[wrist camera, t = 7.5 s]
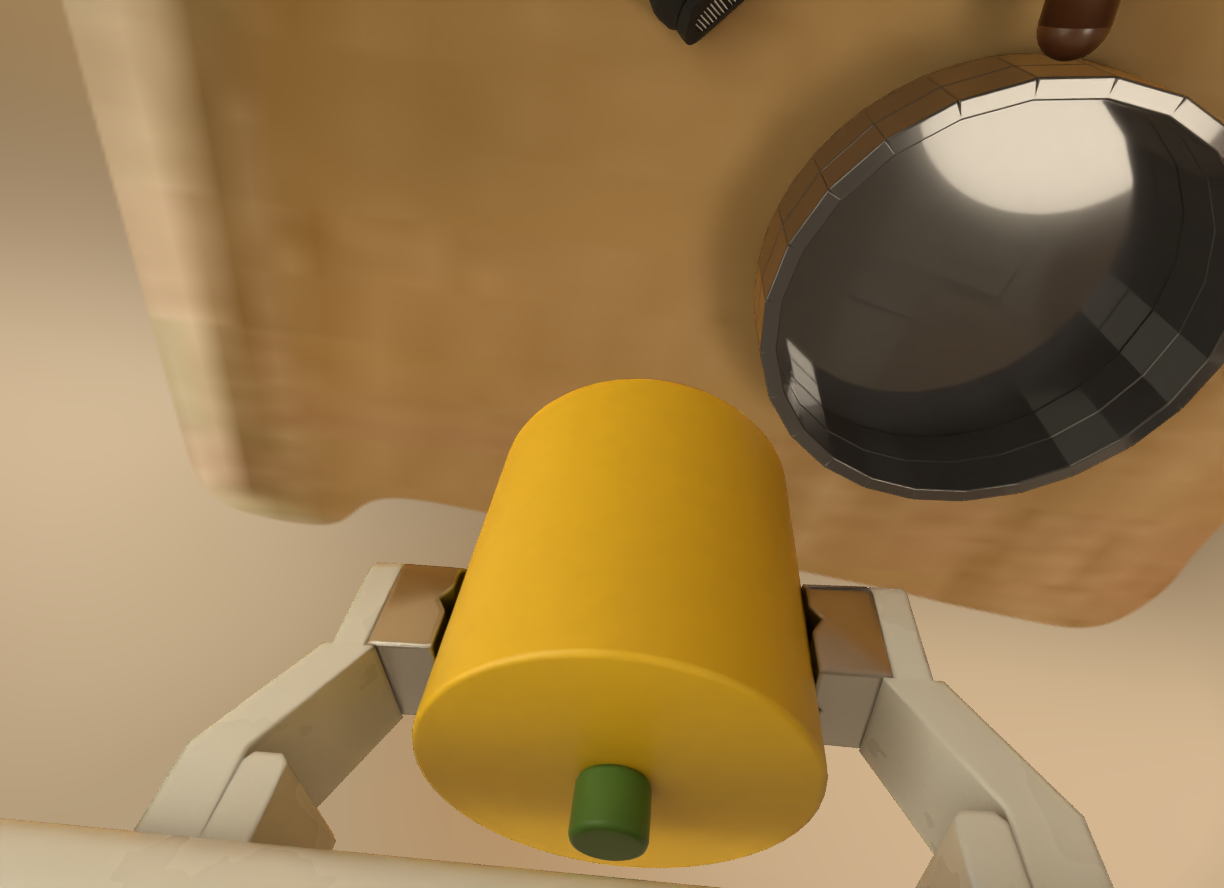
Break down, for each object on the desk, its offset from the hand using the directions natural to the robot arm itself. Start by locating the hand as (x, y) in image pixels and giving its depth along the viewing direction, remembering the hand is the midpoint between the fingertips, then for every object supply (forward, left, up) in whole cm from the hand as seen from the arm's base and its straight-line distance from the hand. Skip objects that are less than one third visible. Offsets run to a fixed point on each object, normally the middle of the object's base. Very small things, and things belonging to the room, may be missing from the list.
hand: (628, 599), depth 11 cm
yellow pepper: (0, 0, -3) cm, 3 cm away
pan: (+3, +11, -19) cm, 22 cm away
